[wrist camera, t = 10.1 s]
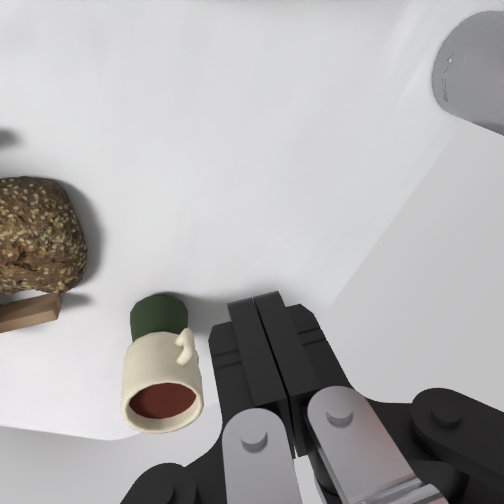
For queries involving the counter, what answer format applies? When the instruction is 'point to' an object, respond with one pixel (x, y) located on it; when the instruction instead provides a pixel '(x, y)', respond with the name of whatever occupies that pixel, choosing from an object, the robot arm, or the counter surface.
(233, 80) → the counter surface
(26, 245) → the bread roll
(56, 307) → the u-shaped wooden frame
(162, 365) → the character mug
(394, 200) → the counter surface
